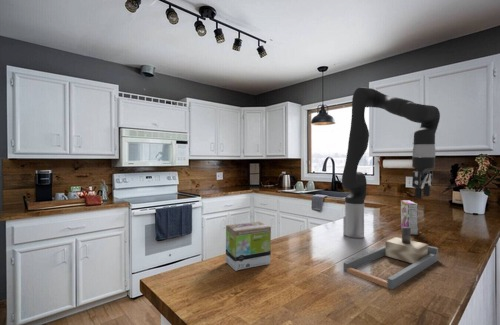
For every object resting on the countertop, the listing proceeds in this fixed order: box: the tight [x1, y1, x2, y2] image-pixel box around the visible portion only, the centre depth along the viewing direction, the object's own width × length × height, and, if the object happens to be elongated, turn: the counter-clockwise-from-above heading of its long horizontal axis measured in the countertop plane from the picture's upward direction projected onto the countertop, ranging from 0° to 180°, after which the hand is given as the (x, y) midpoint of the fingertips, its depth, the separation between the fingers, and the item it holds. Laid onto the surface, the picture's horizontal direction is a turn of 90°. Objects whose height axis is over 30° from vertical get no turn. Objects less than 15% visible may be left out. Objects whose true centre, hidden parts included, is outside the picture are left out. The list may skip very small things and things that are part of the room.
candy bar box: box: [400, 199, 419, 236], centre depth 143 cm, size 11×5×16 cm, turn 168°
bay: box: [342, 244, 439, 290], centre depth 99 cm, size 17×38×5 cm, turn 127°
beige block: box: [385, 227, 429, 265], centre depth 105 cm, size 12×9×12 cm
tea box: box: [225, 221, 272, 272], centre depth 102 cm, size 15×10×15 cm
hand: (422, 197), depth 104 cm, fingers open, 8 cm apart
